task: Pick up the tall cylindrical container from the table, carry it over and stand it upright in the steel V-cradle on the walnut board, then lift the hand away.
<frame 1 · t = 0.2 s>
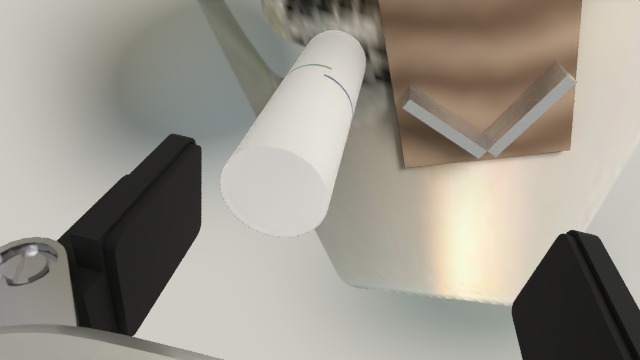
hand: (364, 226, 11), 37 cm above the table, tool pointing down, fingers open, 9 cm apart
cylindrical container: (334, 62, 47), on the table
v cradle: (478, 74, 45), on the table
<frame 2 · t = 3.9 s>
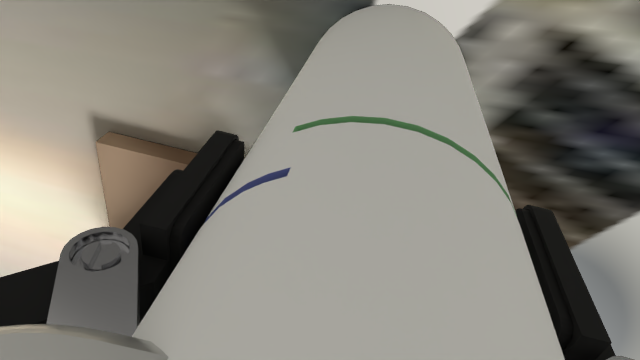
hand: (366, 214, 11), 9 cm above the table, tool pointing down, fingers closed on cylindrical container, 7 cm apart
cylindrical container: (384, 86, 19), on the table, touching gripper
v cradle: (268, 284, 28), on the table
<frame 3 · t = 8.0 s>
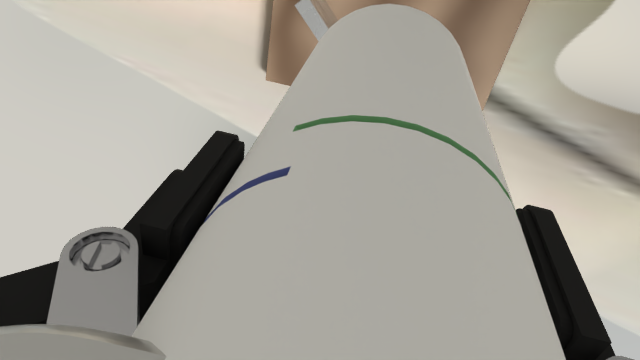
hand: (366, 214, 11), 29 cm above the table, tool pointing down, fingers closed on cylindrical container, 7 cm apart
cylindrical container: (384, 85, 19), point 19 cm above the table, touching gripper
v cradle: (395, 0, 35), on the table
when the fingers open (11 cm above the table, at t = 12.0 s): cylindrical container stays where it is, resting on v cradle.
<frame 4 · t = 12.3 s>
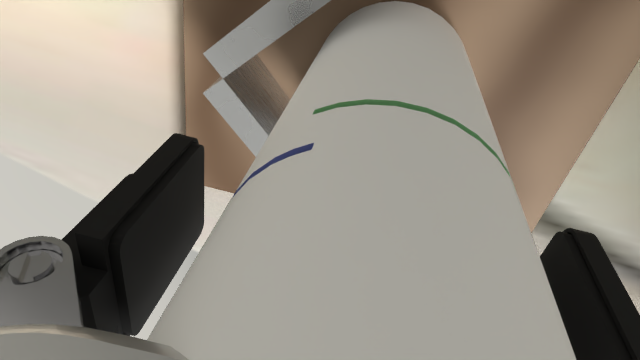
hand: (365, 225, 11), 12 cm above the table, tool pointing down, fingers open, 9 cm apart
cylindrical container: (390, 79, 20), point 1 cm above the table, touching v cradle
v cradle: (386, 70, 21), on the table
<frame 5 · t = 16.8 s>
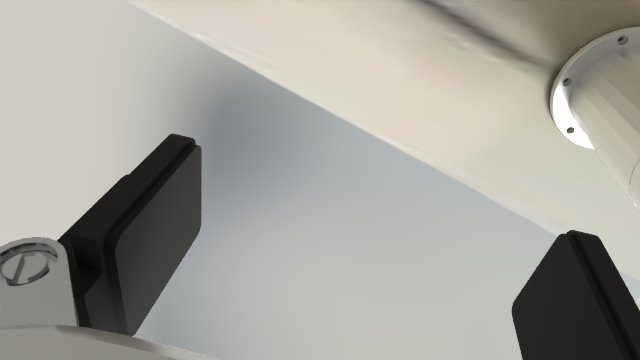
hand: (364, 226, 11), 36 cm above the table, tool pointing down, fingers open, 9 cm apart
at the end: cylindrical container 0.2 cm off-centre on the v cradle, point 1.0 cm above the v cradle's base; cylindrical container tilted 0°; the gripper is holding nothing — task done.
